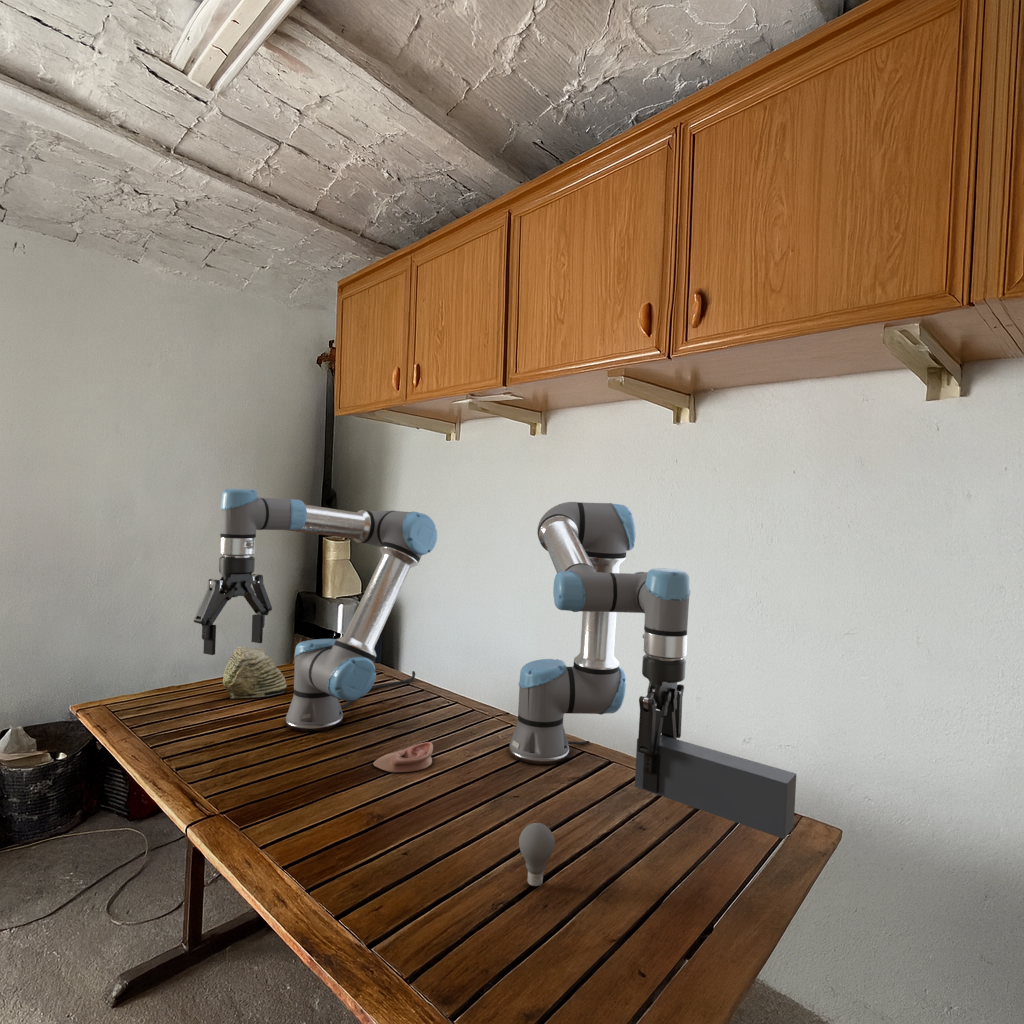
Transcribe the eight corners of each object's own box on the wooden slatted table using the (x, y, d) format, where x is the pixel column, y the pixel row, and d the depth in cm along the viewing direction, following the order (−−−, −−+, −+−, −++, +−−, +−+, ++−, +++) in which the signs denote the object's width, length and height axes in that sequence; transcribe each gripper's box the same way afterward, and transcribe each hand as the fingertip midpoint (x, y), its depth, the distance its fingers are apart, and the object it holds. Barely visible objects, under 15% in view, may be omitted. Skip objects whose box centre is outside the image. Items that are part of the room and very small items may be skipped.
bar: (793, 827, 102) (796, 773, 101) (784, 839, 98) (787, 783, 97) (647, 777, 118) (649, 731, 118) (634, 786, 114) (636, 738, 113)
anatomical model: (368, 752, 148) (387, 734, 159) (367, 769, 148) (386, 750, 159) (422, 759, 145) (438, 741, 156) (421, 776, 145) (437, 757, 156)
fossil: (218, 695, 195) (220, 647, 195) (278, 685, 208) (279, 640, 207) (228, 703, 189) (230, 653, 188) (289, 692, 201) (290, 645, 201)
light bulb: (515, 873, 109) (518, 816, 109) (550, 873, 109) (552, 816, 109) (518, 895, 103) (521, 834, 103) (555, 895, 104) (558, 834, 103)
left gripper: (203, 561, 132) (199, 661, 133) (289, 553, 155) (286, 640, 156) (177, 558, 135) (174, 656, 136) (266, 551, 158) (263, 636, 159)
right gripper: (666, 644, 123) (661, 763, 123) (620, 660, 108) (614, 794, 109) (704, 651, 118) (698, 775, 118) (661, 669, 104) (654, 809, 104)
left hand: (234, 648), depth 146 cm, fingers open, 13 cm apart
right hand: (658, 784), depth 114 cm, fingers closed on bar, 5 cm apart
